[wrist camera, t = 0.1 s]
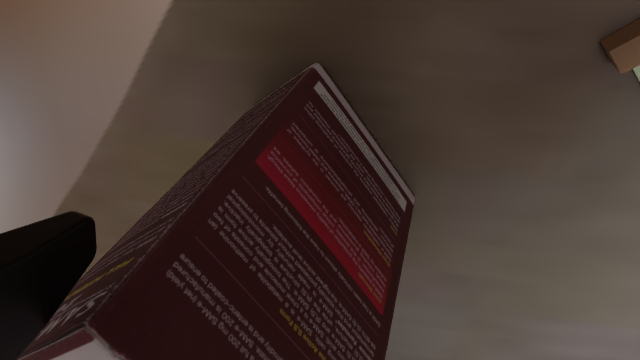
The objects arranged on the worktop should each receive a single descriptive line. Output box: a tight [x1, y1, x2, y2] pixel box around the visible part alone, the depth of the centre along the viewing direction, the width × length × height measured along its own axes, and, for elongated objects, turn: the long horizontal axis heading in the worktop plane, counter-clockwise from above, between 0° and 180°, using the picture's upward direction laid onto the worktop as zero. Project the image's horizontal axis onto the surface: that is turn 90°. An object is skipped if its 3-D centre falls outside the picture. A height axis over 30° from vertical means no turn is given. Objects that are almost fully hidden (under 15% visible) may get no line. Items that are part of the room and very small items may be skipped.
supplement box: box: [17, 63, 415, 360], centre depth 17 cm, size 9×5×16 cm, turn 38°
